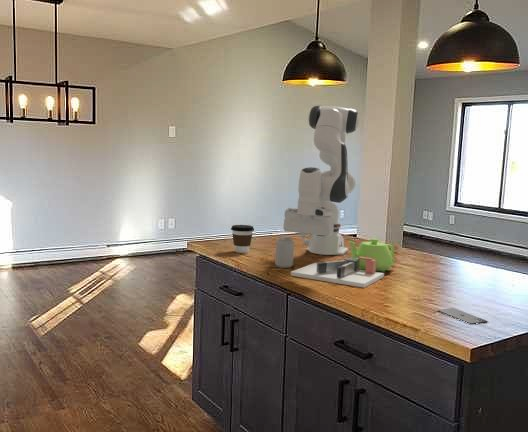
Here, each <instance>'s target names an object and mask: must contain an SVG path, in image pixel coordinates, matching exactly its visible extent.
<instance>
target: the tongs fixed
mask: <svg viewBox="0 0 528 432" xmlns="http://www.w3.org/2000/svg"><path fill="white" fill-rule="evenodd" d="M343 260H347V264H345V265H342V266H340V267H337V277H338V278H342V277H344V276H345V275H348V274H350V273H352V272H357V271H359V269H360V268H359V267H360V259H358V258H352V256H351V257H350V256H349V257H346V258H344V259H343Z"/></svg>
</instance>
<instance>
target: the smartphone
mask: <svg viewBox="0 0 528 432" xmlns="http://www.w3.org/2000/svg"><path fill="white" fill-rule="evenodd" d="M437 310H438V311H440V312H442V313H441V314H443V313H445V314H447V315H450V316H452V317H455V318H457V319H460V320H462V321H465V322H467V323H470V324H475V325H477V324H476V323H483V324H488V323H489V321H488V320H487V319H484V318H482V317H479V316H476V315H473V314H471V313H468V312H465V311H463V310H461V309H457V308H455V307H451V308H440V309H437ZM438 311H437V312H438ZM440 312H439V313H440ZM445 314H444V315H445ZM447 315H446V316H447ZM450 316H449V317H450ZM452 317H451V318H452ZM455 318H454V319H455ZM457 319H456V320H457ZM460 320H459V321H460ZM462 321H461V322H462ZM465 322H464V323H465ZM487 322H488V323H487ZM467 323H466V324H467ZM470 324H469V325H470Z"/></svg>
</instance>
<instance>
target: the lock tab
mask: <svg viewBox="0 0 528 432" xmlns="http://www.w3.org/2000/svg"><path fill="white" fill-rule="evenodd" d="M358 259H363V260H366V272H365V273H371V274H373V273H375V272H377V271H376V260H373V258H367V257H358Z"/></svg>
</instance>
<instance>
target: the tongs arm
mask: <svg viewBox="0 0 528 432" xmlns="http://www.w3.org/2000/svg"><path fill="white" fill-rule="evenodd" d="M316 263H317V273H325V272H334V271H337V267H340V266H342V265H345V264H347V260H344V259H343V260H334V261H333V260H331V261H322V262H316Z"/></svg>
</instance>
